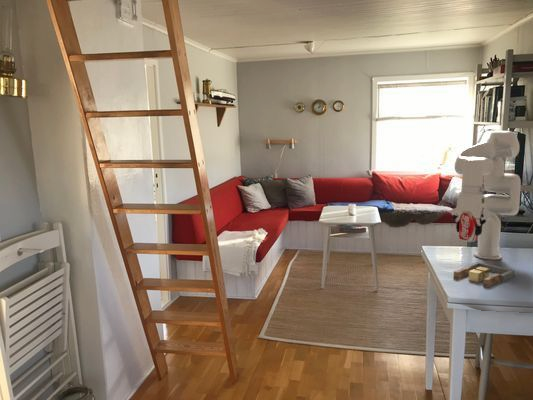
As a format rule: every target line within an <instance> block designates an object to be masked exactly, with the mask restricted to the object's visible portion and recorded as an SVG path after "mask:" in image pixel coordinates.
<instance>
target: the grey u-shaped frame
mask: <svg viewBox="0 0 533 400" xmlns="http://www.w3.org/2000/svg"><path fill="white" fill-rule="evenodd" d="M467 266H469V267H471V270H473V269H474V270H476V268H478V267H484V268H488V269H489V272H491V273H494V274H496V273H498V274H500V281H499V282H505V281H507V280H510V279H511V278H513V277H515V273H516V270H514V269H510V268H507V267H501V266H497V265H493V264H488V263H484V262H480V261H476V262H472V263H470V264H468V265H465V266H464V267H467Z"/></svg>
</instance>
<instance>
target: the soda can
mask: <svg viewBox="0 0 533 400" xmlns="http://www.w3.org/2000/svg"><path fill="white" fill-rule="evenodd" d="M476 226H477V222H476V219H475V218H474V216H473V215H472V213H468V212H463V213H462V214H461V216H460V225H459V232H458V239H460V240H461V241H462V242H466V243H467V242H468V243H474V242H475V241H478V237H479V235H475V233H476Z"/></svg>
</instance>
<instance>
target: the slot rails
mask: <svg viewBox="0 0 533 400" xmlns="http://www.w3.org/2000/svg"><path fill="white" fill-rule="evenodd" d="M466 266H467V267H465V266H464V267H462V268H459V269H457V270H454V271H453V279H455V280H459V279H461V278H464V277H465V276H467V275H468V276H469V271H471V267H469V266H468V265H466ZM500 275H501V274H499V273H494V274H492V275H489V277H487V278H485V279H482V287H485V288H489V287H490V286H492V285H494V284H497V283H499V282H501V281H500Z"/></svg>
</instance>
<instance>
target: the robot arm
mask: <svg viewBox="0 0 533 400" xmlns="http://www.w3.org/2000/svg"><path fill="white" fill-rule="evenodd" d="M519 152H520V142H519V140H518V137H517V135H516V133H515V132H513V131H512V130H487V131H485V132H483V133H482V134H481V135H480V137H479V139H478V141H477V143H476V144H475V145H472V146H470V147H467V148H464V149H463V150H461V152H459V154H458V156H457V157H456V160H455V162H454V170H455V171H454V172H455V173H456V174H457V175H461V176H462V178H461V191H460V192H459V195H458V198H457V202H456V207H454V208H452V209H451V210H450V212H449V213H450V214H451V216H452V218H453V219H454V221H455V223H456V227H455V229H456V232H457V233H459V225H460V216H461V214H462V213H463V212H468V213H472V215H473V216H474V218H475V219H476V222H477V226H476V233H475V235H478V237H477V241H478V242H477V251H473V255H474V257H476V258H479V259H483V260H492V261H493V260H494V261H496V260H501V259H502V258H503V257H502V254H500V253H499V252H500V250H501V248H502V247H500V241H501V240H500V239H501V226H502V224H501V223H502V222H501V220H500V219H499V217H498V215H501V216H502V215H504V216H516V215H517V214H518V213H519V210H520V204H521V203H520V201H521V186H522V181H521V180H522V179H521V178H520V175H518V174H515V173H505V172H504V171H505V162H504V160H503V158H508V159H509V158H511V159H512V158H516V157H517V156H518V154H519ZM486 191H487V192H489V193H488V194H484V193H485V192H486ZM483 192H484V193H483ZM494 193H501V194H494ZM503 194H504V195H503Z"/></svg>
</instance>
